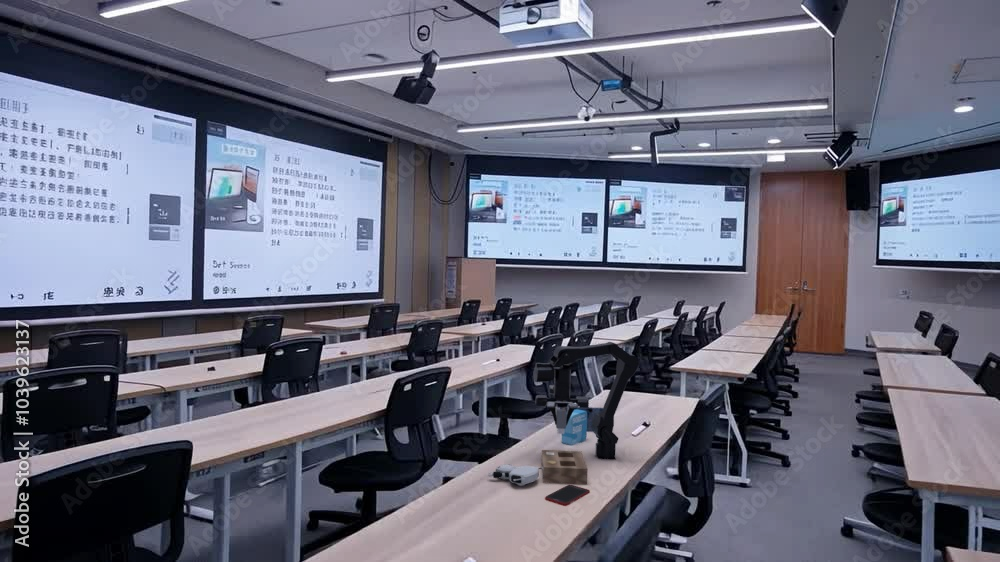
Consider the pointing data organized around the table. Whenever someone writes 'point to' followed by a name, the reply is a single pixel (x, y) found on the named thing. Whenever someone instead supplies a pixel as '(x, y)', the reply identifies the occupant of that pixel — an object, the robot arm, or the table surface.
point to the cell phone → (567, 495)
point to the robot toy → (517, 474)
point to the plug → (561, 421)
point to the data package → (576, 428)
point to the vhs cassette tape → (589, 415)
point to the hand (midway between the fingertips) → (561, 424)
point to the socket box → (563, 467)
